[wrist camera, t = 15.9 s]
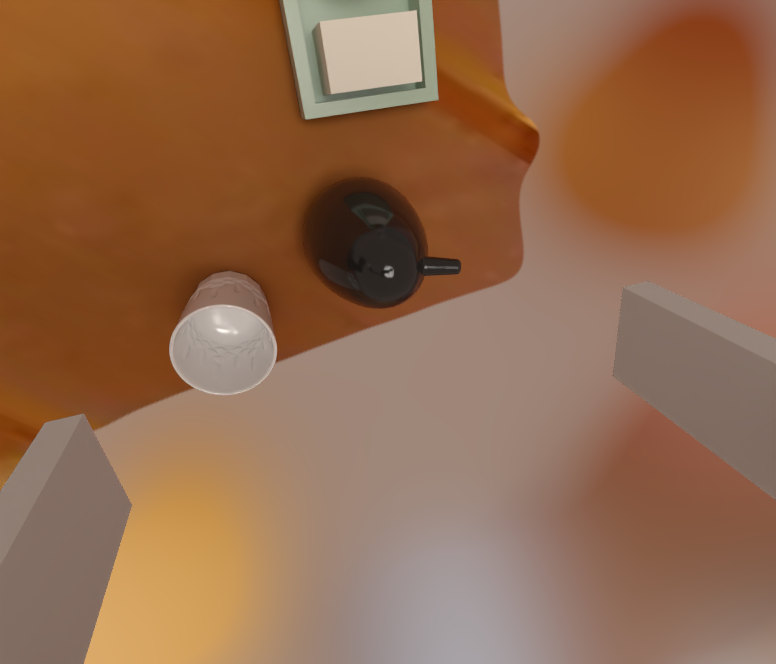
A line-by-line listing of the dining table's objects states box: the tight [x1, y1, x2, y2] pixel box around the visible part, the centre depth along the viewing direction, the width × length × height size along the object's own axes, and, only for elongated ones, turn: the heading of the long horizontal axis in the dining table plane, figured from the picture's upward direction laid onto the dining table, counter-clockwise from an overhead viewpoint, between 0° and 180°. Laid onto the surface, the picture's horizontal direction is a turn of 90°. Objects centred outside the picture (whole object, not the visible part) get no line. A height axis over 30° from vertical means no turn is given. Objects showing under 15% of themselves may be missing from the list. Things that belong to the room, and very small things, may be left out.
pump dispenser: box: [303, 177, 461, 309], centre depth 38 cm, size 10×10×15 cm
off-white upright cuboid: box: [312, 10, 422, 95], centre depth 36 cm, size 7×4×5 cm, turn 97°
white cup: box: [169, 271, 277, 395], centre depth 41 cm, size 8×8×10 cm
